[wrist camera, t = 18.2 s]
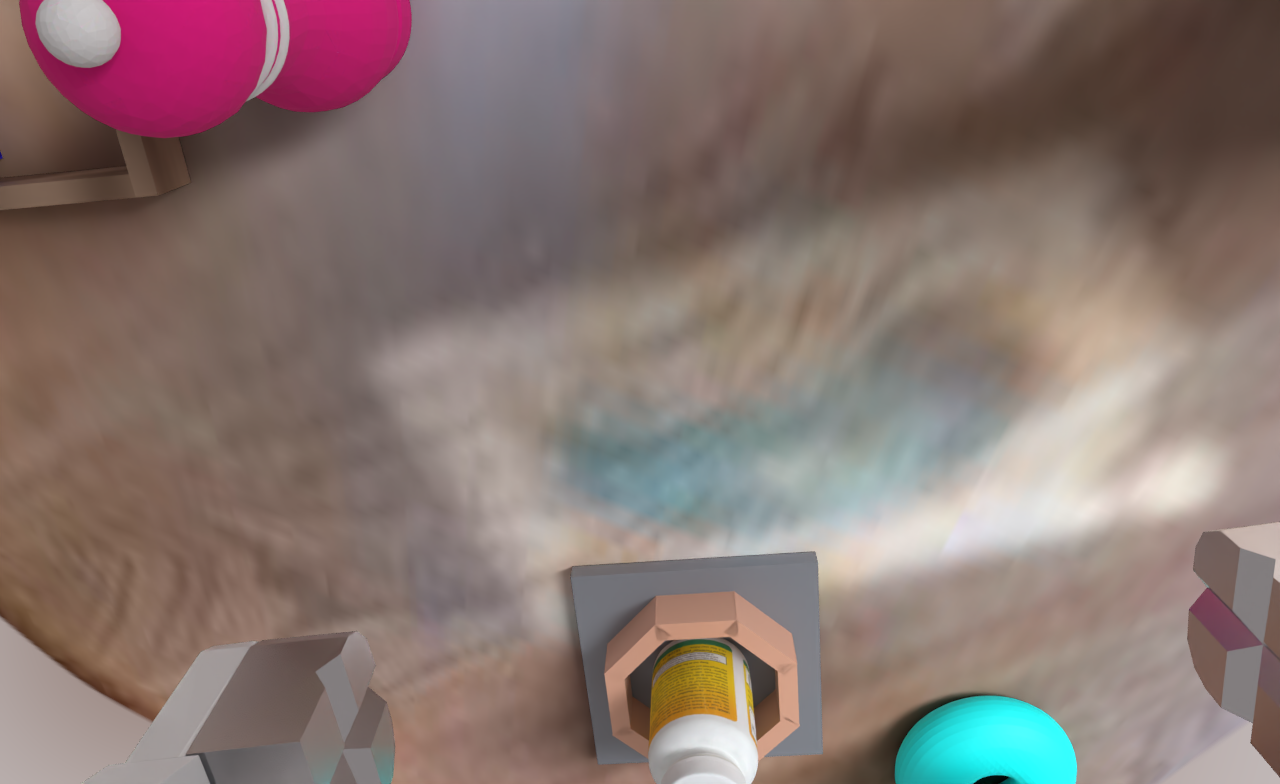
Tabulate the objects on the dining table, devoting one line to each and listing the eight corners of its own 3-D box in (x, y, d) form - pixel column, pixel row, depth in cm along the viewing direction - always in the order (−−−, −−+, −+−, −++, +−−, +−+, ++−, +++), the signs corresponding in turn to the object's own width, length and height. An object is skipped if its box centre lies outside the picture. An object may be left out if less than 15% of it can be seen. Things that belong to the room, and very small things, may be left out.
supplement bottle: (768, 673, 52) (788, 813, 43) (696, 723, 53) (700, 868, 45) (704, 612, 50) (710, 744, 42) (631, 665, 52) (622, 803, 43)
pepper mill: (369, 133, 42) (133, 244, 24) (226, 30, 41) (-145, 62, 22) (456, -7, 40) (267, -4, 21) (306, -122, 38) (-35, -226, 20)
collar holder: (815, 551, 50) (824, 590, 47) (820, 741, 55) (829, 788, 52) (572, 566, 51) (565, 605, 48) (599, 751, 56) (594, 798, 53)
